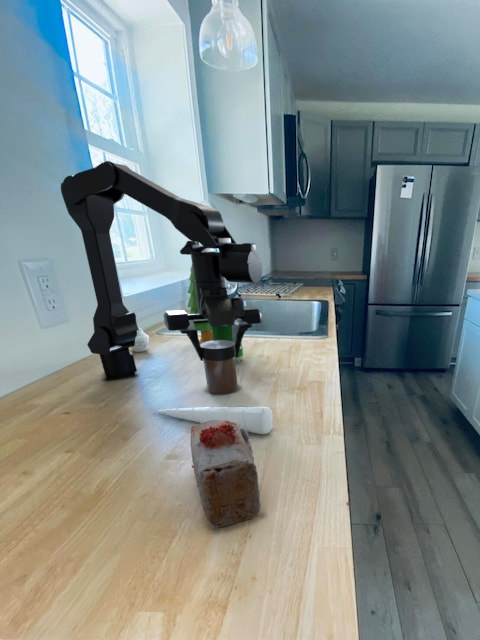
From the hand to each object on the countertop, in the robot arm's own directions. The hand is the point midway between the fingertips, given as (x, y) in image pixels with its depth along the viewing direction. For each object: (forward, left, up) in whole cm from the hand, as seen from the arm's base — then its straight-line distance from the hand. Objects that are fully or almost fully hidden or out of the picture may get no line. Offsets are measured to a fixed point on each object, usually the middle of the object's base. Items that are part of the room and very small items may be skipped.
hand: (219, 358), depth 79 cm
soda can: (+7, +20, -7) cm, 22 cm away
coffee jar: (0, 0, -7) cm, 7 cm away
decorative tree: (+5, +40, -7) cm, 41 cm away
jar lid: (0, 0, +3) cm, 3 cm away
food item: (-9, -38, -7) cm, 40 cm away
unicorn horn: (-6, -17, -7) cm, 19 cm away
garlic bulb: (-14, +41, -7) cm, 44 cm away
